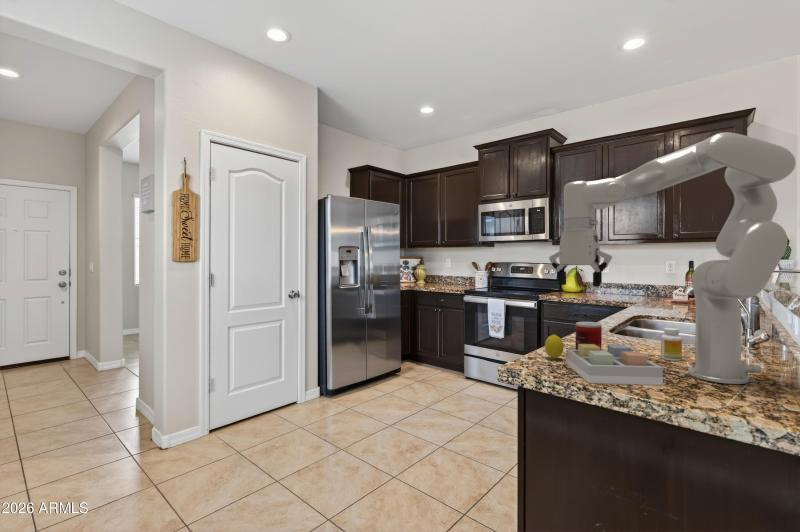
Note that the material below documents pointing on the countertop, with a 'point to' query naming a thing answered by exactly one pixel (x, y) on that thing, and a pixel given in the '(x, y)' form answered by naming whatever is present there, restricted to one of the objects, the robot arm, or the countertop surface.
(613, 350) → the key slate
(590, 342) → the canned food
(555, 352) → the lemon
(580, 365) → the keypad
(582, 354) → the key mustard
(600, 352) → the key sage
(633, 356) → the key terracotta
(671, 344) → the supplement bottle
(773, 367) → the countertop surface
